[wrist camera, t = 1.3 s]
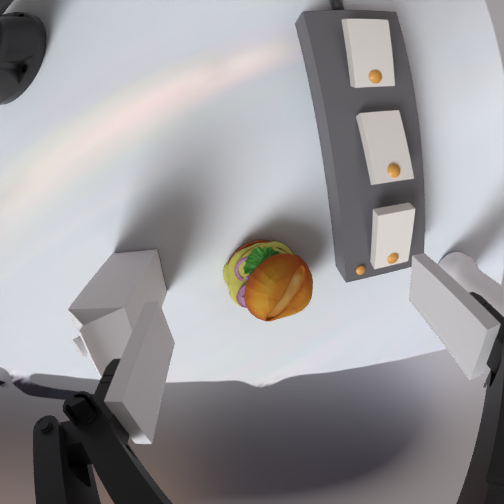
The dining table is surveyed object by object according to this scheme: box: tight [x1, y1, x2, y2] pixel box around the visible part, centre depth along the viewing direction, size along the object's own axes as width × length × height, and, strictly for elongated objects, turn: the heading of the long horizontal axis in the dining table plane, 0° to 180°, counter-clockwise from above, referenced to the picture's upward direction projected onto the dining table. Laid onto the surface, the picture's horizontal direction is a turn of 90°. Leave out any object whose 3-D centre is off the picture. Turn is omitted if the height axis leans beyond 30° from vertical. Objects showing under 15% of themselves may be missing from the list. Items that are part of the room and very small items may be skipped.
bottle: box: [438, 252, 504, 317], centre depth 32 cm, size 8×8×30 cm
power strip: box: [295, 0, 425, 282], centre depth 34 cm, size 40×12×6 cm, turn 11°
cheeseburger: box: [223, 240, 313, 321], centre depth 41 cm, size 10×11×10 cm
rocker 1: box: [342, 19, 395, 88], centre depth 27 cm, size 8×5×2 cm, turn 12°
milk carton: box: [68, 249, 167, 379], centre depth 35 cm, size 7×7×19 cm
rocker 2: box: [356, 110, 414, 185], centre depth 31 cm, size 8×5×2 cm, turn 11°
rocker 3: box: [370, 202, 415, 269], centre depth 36 cm, size 8×5×2 cm, turn 12°
